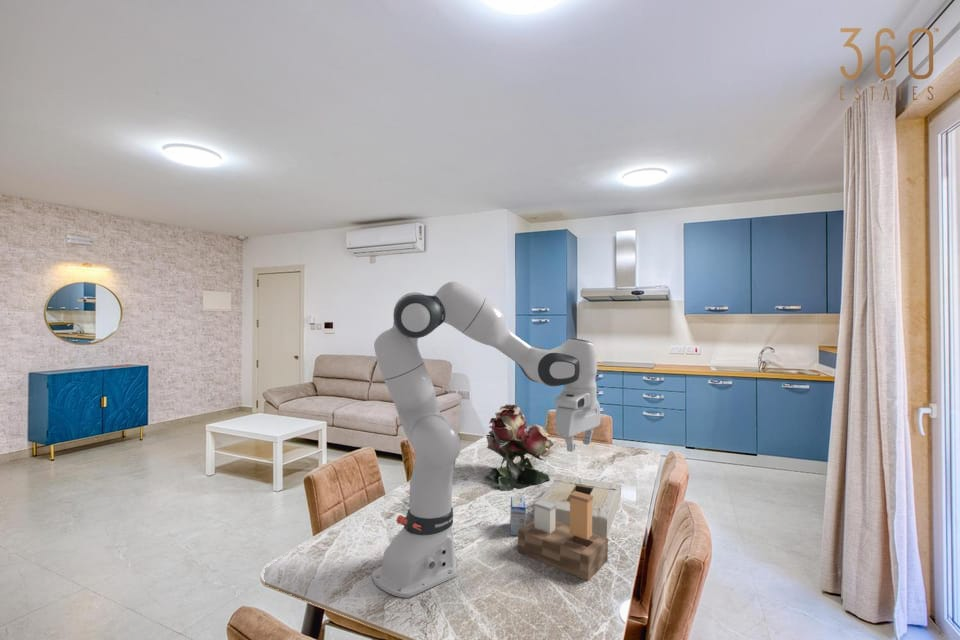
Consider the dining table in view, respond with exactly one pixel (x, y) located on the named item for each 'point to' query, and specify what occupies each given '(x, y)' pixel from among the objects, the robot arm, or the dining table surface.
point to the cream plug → (545, 516)
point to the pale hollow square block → (602, 492)
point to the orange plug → (581, 515)
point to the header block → (564, 549)
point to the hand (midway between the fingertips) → (579, 447)
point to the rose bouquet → (516, 449)
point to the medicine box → (517, 514)
